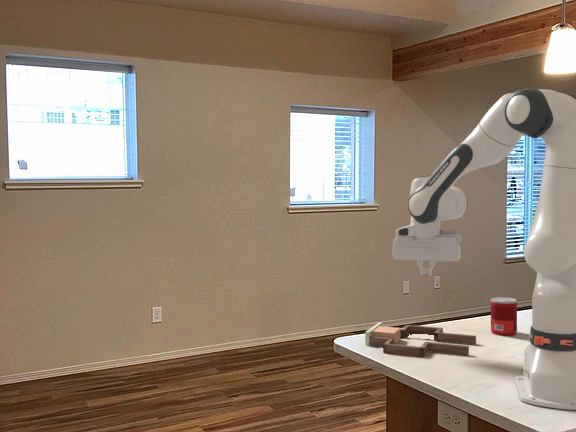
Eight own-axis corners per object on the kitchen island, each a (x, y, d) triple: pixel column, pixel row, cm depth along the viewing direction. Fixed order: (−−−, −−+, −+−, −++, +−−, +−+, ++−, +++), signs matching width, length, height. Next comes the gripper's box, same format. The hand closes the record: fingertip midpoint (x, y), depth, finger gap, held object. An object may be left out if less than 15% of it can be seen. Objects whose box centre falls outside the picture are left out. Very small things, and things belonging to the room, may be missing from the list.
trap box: (464, 361, 172) (464, 347, 172) (358, 349, 186) (358, 336, 185) (479, 338, 195) (479, 326, 195) (384, 330, 208) (384, 318, 208)
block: (394, 346, 190) (393, 333, 190) (372, 344, 193) (371, 331, 193) (400, 340, 196) (400, 328, 196) (379, 338, 199) (378, 326, 199)
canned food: (520, 335, 198) (520, 301, 197) (495, 336, 198) (495, 302, 197) (512, 329, 205) (512, 296, 204) (487, 330, 205) (487, 297, 205)
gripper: (462, 229, 186) (463, 275, 187) (395, 228, 195) (396, 272, 196) (458, 231, 180) (459, 278, 181) (390, 230, 189) (390, 275, 190)
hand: (426, 275), depth 188 cm, fingers closed
